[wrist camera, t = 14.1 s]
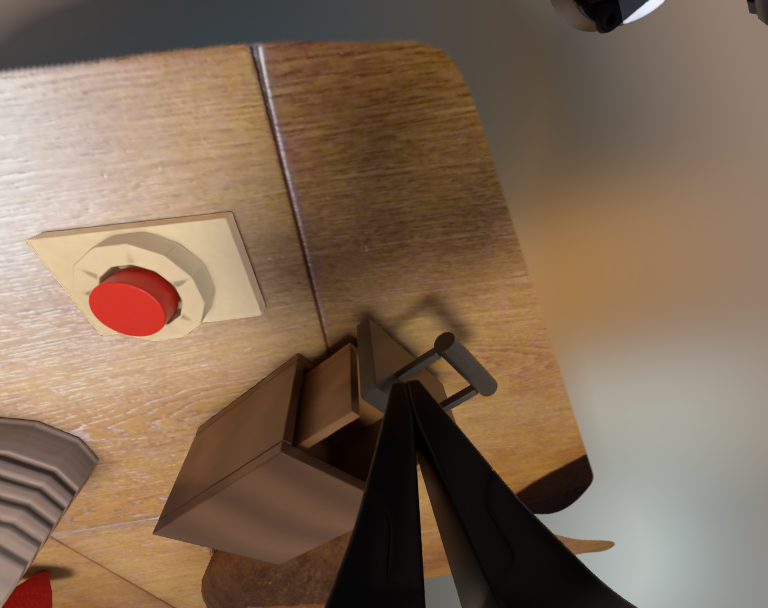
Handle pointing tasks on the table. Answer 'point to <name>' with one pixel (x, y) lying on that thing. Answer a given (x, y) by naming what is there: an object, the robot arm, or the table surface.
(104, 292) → the button
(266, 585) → the bread
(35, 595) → the strawberry
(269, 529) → the brown wooden drawer box
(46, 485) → the can
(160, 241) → the control block
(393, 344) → the brown drawer
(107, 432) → the table surface
